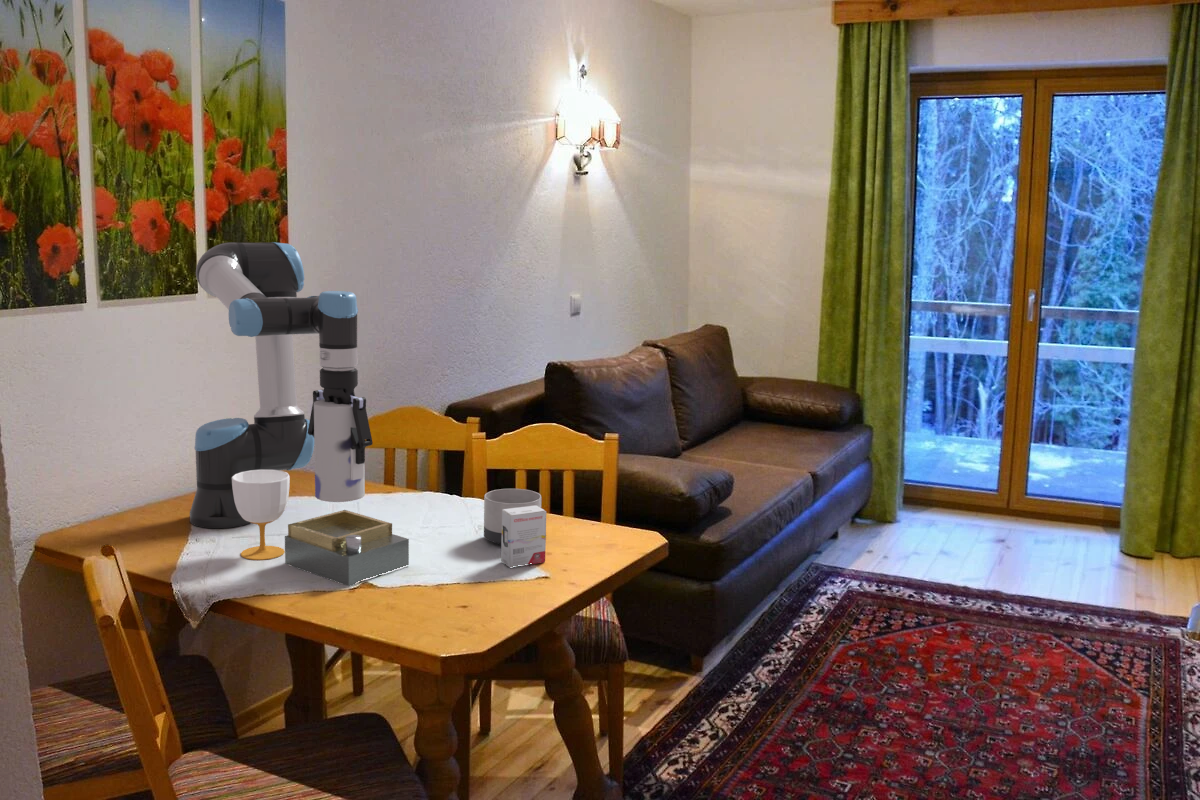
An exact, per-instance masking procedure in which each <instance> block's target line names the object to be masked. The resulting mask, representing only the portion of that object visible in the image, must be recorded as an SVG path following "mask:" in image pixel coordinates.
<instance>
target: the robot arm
mask: <svg viewBox="0 0 1200 800" xmlns="http://www.w3.org/2000/svg"><path fill="white" fill-rule="evenodd" d="M304 271H305V270H304V265H303V262H302V258H301V256H300V253H299V252H298V250H297V249H296V247H294V246H293V245H292V244H290V243H287V242H286V243H283V242H275V241H274V242H273V241H272V242H236V241H235V242H224V243H220V244H217V245H215V246H213V247H211V248H209V249H208V250H207V251H205V252H204V253H203V254H202V256H201V257H200V258H199V259H198V262H197V264H196V269H195V276H196V280H197V282H198V284H199V286H200V287H201V288H202V289H203V291H204V292H206V294H208V295H210V296H213V297H215V298H217V299H218V300H219V301H220V303H222V304H223V306H225V308H227V310H228V323H229V327H230V330H231V332H232V333H233V335H235V336H237V337H250V338H255V350H256V353H255V354H256V355H255V356H256V365H257V367H256V369H257V382H258V383H257V385H258V397H259V398H258V399H259V409H258V410H257V412H256V413H255V414H254V415H253V421H254V422H253V423H249V422H248V420H247V419H246V418H243V417H242V418H241V417H235V418H232V417H229V418H228V417H227V418H222V419H217V420H211V421H209V422H206V423H204V424H202V425H200V426H199V427H198V428H197V430H196V431H195V439H194V450H195V471H196V472H195V474H196V475H195V476H196V491H195V494H194V498H193V501H192V504H191V508H190V509H189V522H190V524H191V525H193V526H196V527H200V528H206V529H229V528H230V529H231V528H235V527H241V526H246V525H248V524H252V523H251V522H248V521H246V520H244V519H243V518H242V517H241V515H240V514H239V512H238V511H237V508H236V505H235V502H234V495H233V489H232V477H233V476H234V475H235V474H238V473H240V472H245V471H250V470H279V471H291V470H294V469H302V468H304V467H306V466H307V465H308V464H309V463H310V462H311V459H312V457H313V454H314V451H315V450H314V402H315V401H318V400H322V399H324V400H325V402H334V403H335V404H346V405H349V404H350V403H351V406H352V407H353V415H354V420H355V425H356V428H351V438H350V439H351V441H352V444H353V447H351V480H357V479H361V478H364V468H365V461H366V452H365V451H366V448H367V447H369V446H372V445H373V438H372V433H371V427H370V422H369V418H368V413H367V399H366V397H365V396H363V397H358V396H357V395H356V393H355V388H356V387H357V386H358V384H359V382H358V381H359V379H358V378H359V377H358V376H359V375H358V369H357V366H358V365H359V363H358V362H359V361H358V357H359V355H358V313H359V308H358V301H357V295H356V294H355V293H354V292H352V291H344V290H327V291H322V292H321V293H319V295H311V296H307V297H298V296H297V293H300V292H301V291H302V290H303V288H304V286H305V282H304V281H305V272H304ZM311 334H313V335H315V334H318V338H319V340H318V342H319V344H318V345H319V346H318V347H319V367H321V369H320V370H319V386H320V387H321V388H323V389H318V390H313V391H312V407H311V412H310V417H309V419H307V418H306V416H305V411H303V410H302V409H301V408H300V406H298V398H297V382H296V369H295V368H296V367H295V353H294V352H295V351H294V350H295V348H294V336H293V335H311ZM358 440H359V442H358ZM363 463H364V465H363Z"/></svg>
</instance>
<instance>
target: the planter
mask: <svg viewBox="0 0 1200 800" xmlns="http://www.w3.org/2000/svg"><path fill="white" fill-rule="evenodd" d="M483 497H484V498H483V499H484V503H483V506H484V507H483V509H484V510H483V537H484V538H485V539H486V540H487V541H490V542H492V543H493V544H494V543H495V544H497V545H499V544H500V546H501V538H502V509H510V508H518V507H527V506H535V505H537V506H538V507H540V508H542V495H541V493H539V492H536V491H533V490H530V489H524V488H522V489H521V488H501V489H499V488H498V489H494V490H491V491H488V492H485V494H484V496H483Z"/></svg>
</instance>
